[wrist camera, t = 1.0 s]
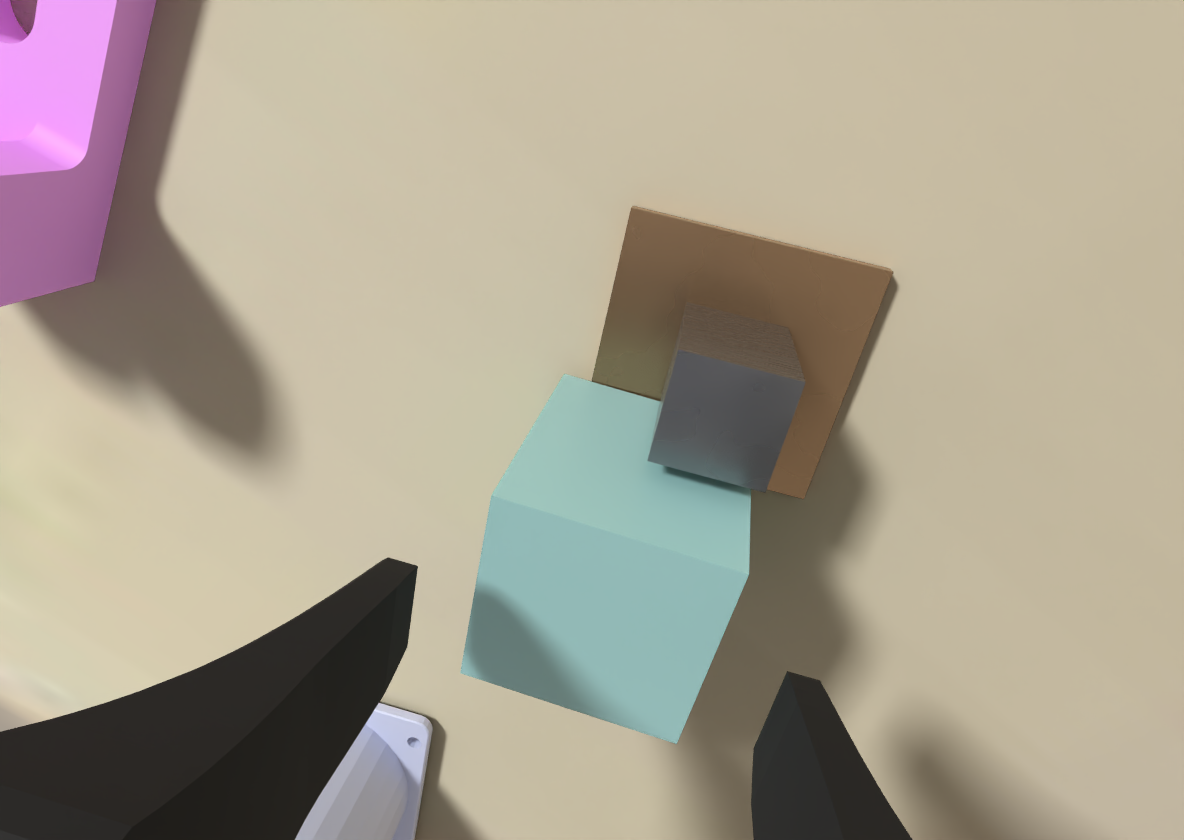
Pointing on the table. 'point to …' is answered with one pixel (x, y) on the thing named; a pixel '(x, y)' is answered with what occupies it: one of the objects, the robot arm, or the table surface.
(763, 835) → the robot arm
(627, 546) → the teal cube
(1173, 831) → the table surface
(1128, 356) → the table surface
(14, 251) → the bracket
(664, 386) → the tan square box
